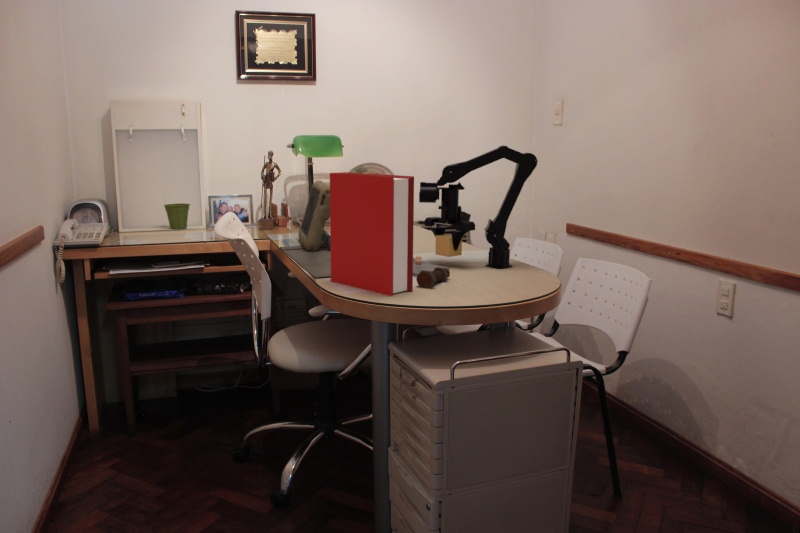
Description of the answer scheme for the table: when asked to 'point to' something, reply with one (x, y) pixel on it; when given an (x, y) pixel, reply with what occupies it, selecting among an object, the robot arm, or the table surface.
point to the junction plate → (422, 266)
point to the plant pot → (177, 215)
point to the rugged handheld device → (316, 218)
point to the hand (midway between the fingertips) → (448, 249)
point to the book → (372, 231)
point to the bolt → (432, 277)
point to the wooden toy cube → (447, 246)
